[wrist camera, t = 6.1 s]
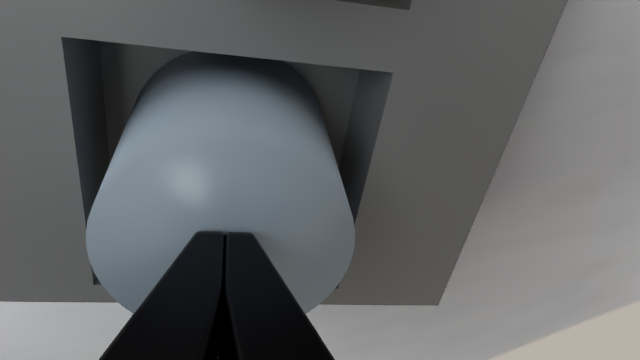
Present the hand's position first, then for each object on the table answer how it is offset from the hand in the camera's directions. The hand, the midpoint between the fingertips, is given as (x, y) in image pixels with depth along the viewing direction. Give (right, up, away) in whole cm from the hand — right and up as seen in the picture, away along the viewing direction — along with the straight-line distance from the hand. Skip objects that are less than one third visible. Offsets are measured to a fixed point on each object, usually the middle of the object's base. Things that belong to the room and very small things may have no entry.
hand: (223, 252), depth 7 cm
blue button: (0, +2, +3) cm, 4 cm away
